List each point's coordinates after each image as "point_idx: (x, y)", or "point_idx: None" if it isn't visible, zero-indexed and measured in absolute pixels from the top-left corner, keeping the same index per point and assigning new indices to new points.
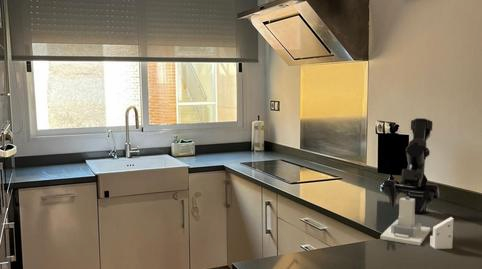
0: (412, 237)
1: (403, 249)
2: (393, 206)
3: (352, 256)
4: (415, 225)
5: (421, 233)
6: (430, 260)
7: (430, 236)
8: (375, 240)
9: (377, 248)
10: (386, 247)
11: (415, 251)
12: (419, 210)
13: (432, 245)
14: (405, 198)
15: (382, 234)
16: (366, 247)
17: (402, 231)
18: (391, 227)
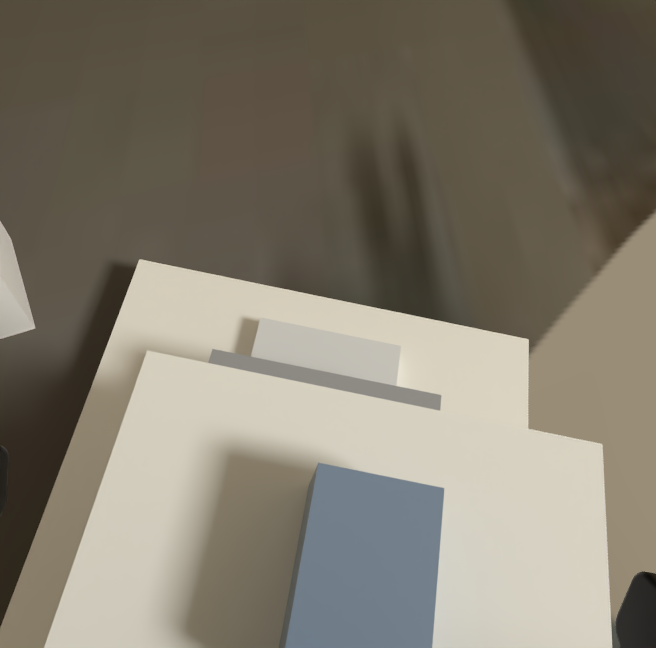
0: None
1: (287, 165)
2: (640, 573)
3: (575, 6)
4: None
5: None
6: (100, 25)
7: (1, 277)
8: (541, 306)
9: (476, 143)
10: (419, 175)
11: (193, 147)
12: (6, 455)
13: (17, 272)
14: (421, 504)
15: (519, 381)
16: (553, 144)
17: None
18: None
